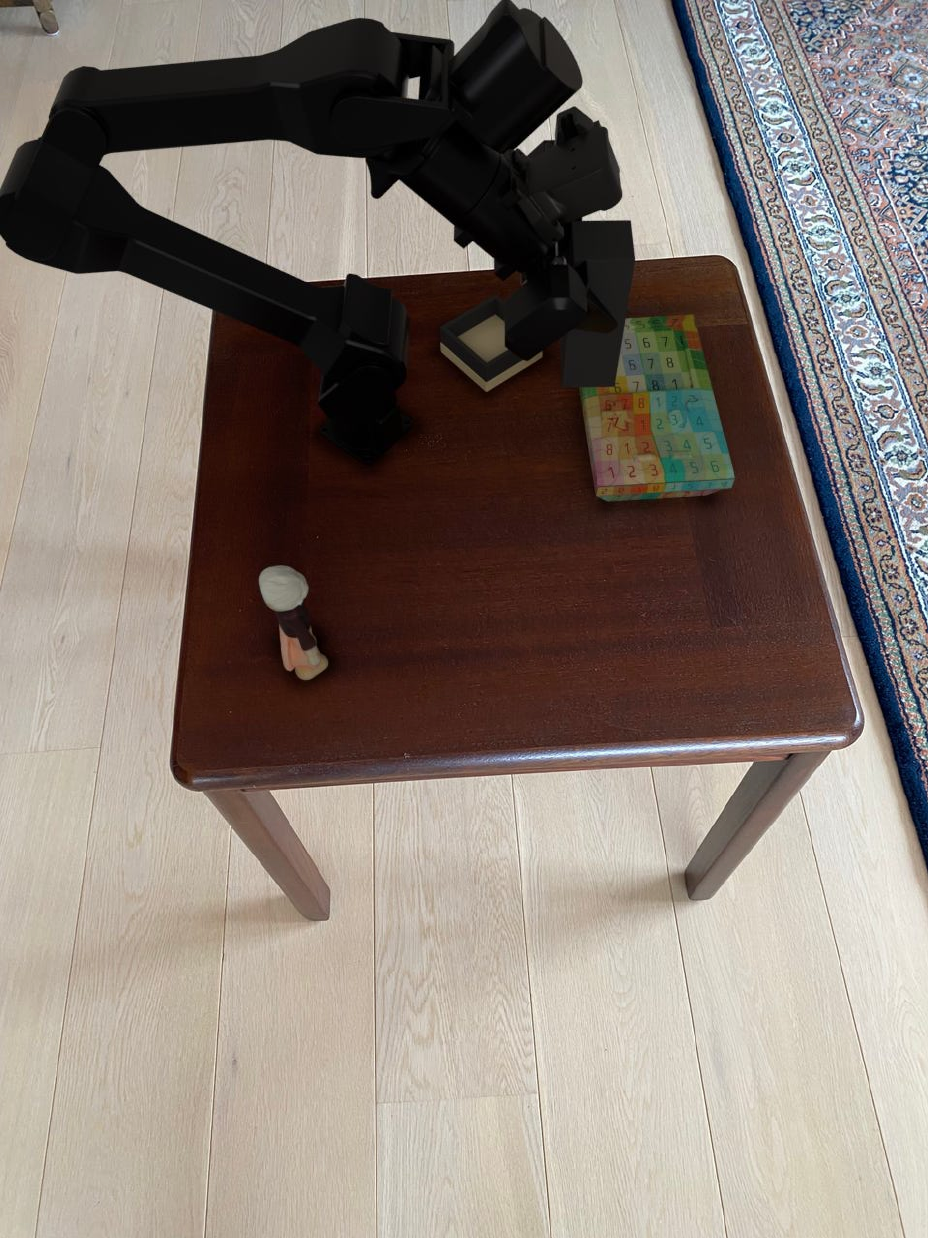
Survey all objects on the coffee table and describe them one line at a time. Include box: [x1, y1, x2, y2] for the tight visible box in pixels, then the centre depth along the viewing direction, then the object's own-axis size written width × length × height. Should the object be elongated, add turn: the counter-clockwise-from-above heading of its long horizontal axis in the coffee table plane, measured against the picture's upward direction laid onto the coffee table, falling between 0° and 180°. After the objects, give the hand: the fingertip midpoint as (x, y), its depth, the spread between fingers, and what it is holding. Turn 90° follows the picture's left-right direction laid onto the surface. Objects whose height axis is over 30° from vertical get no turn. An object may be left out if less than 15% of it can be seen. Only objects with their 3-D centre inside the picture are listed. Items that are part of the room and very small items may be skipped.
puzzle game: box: [578, 314, 736, 502], centre depth 84 cm, size 12×5×20 cm
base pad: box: [439, 294, 544, 393], centre depth 90 cm, size 7×7×3 cm
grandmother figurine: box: [258, 564, 329, 681], centre depth 70 cm, size 8×4×13 cm, turn 37°
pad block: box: [559, 219, 636, 388], centre depth 74 cm, size 4×4×13 cm
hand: (611, 307), depth 74 cm, fingers closed on pad block, 4 cm apart
